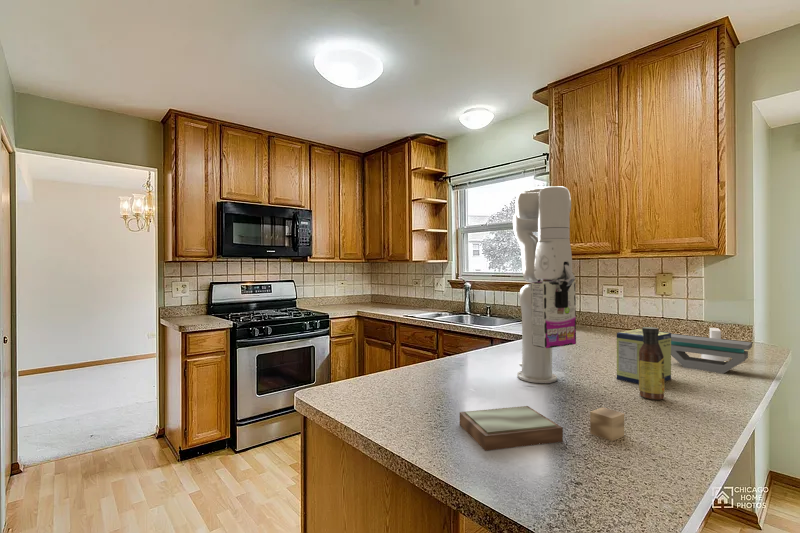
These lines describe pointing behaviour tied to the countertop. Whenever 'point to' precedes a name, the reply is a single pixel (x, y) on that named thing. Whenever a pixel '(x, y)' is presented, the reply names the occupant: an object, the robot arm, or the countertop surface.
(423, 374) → the countertop surface
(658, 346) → the sauce bottle
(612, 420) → the oak block
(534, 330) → the candy bar box
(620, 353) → the protein box
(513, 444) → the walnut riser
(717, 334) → the base with upright slab
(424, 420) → the countertop surface
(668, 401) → the countertop surface
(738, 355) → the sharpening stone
